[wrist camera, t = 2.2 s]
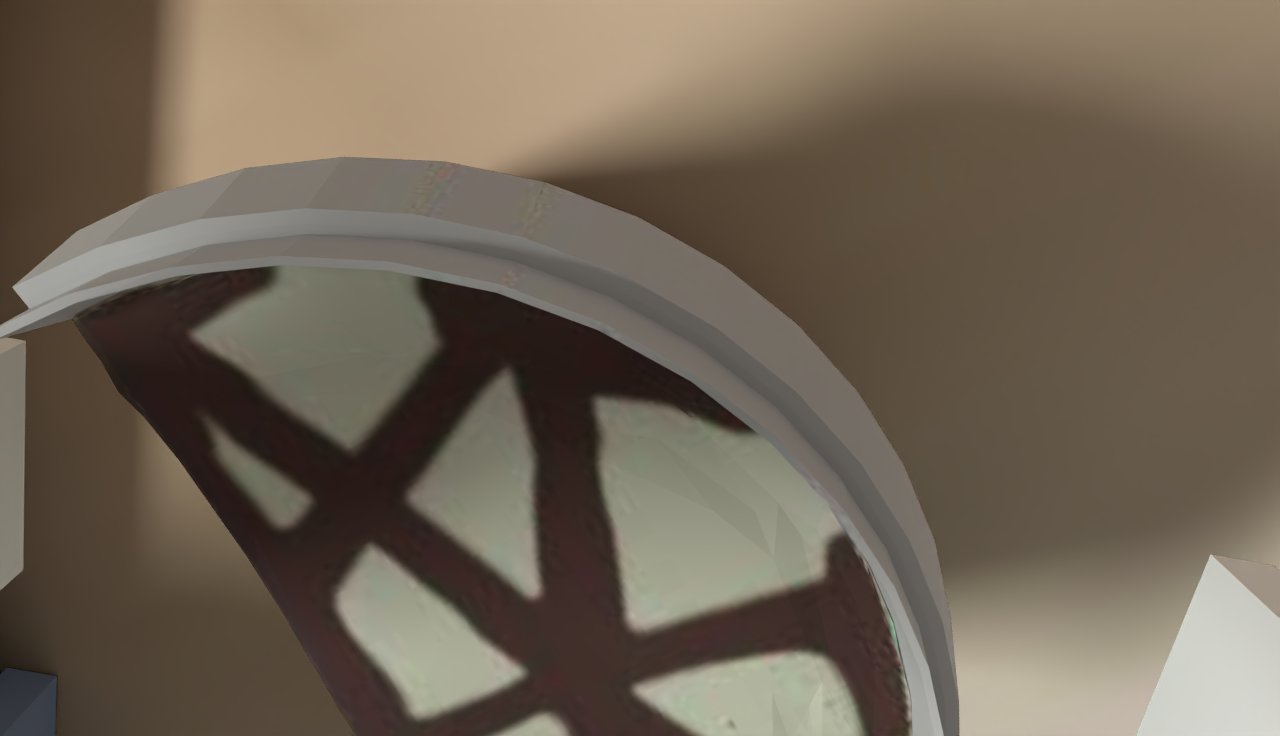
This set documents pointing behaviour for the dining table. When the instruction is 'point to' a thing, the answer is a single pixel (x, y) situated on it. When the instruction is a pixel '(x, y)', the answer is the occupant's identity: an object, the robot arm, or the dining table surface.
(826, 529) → the food container
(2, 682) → the open box
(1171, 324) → the dining table surface
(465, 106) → the dining table surface
